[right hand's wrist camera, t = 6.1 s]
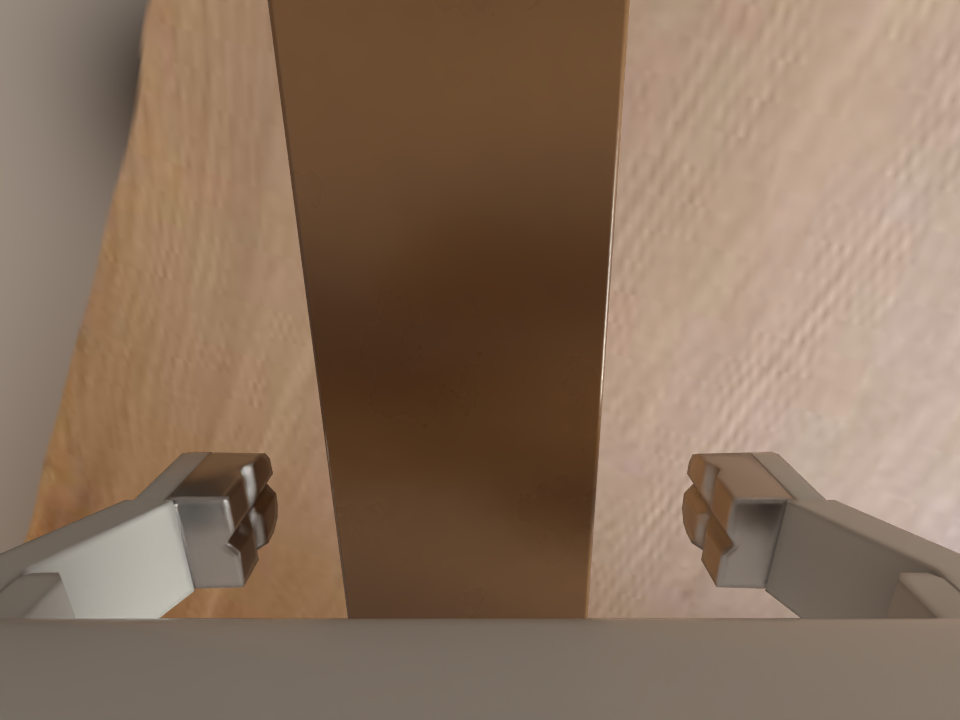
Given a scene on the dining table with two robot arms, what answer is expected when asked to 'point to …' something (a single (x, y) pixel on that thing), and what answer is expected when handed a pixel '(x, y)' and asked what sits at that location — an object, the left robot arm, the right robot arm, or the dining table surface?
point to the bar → (457, 288)
